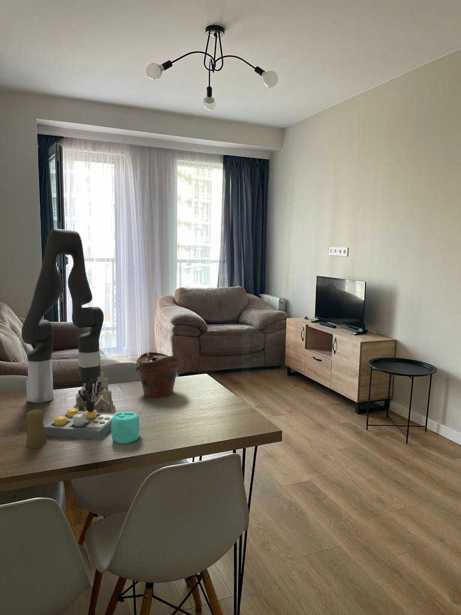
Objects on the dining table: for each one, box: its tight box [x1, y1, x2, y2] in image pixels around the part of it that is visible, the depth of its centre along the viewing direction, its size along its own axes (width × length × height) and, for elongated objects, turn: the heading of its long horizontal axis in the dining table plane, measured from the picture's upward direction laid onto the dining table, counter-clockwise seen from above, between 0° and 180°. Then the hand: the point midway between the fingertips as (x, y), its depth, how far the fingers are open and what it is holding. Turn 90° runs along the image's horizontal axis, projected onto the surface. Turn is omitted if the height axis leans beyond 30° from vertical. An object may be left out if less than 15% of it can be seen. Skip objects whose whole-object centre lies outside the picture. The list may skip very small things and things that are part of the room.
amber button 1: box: [53, 415, 67, 427], centre depth 154 cm, size 4×4×3 cm
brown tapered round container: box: [134, 351, 181, 398], centre depth 197 cm, size 18×20×18 cm
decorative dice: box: [110, 410, 140, 444], centre depth 149 cm, size 8×8×8 cm
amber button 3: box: [85, 410, 97, 419], centre depth 160 cm, size 4×4×3 cm
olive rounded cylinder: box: [25, 409, 47, 449], centre depth 144 cm, size 6×6×11 cm
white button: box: [73, 414, 86, 426], centre depth 152 cm, size 4×4×3 cm
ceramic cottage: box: [73, 371, 116, 414], centre depth 173 cm, size 16×16×15 cm
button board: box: [43, 411, 116, 441], centre depth 157 cm, size 20×16×4 cm
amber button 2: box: [66, 407, 79, 418], centre depth 162 cm, size 4×4×3 cm
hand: (90, 410), depth 160 cm, fingers closed
